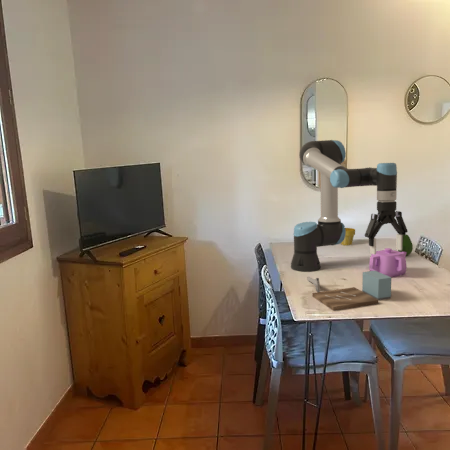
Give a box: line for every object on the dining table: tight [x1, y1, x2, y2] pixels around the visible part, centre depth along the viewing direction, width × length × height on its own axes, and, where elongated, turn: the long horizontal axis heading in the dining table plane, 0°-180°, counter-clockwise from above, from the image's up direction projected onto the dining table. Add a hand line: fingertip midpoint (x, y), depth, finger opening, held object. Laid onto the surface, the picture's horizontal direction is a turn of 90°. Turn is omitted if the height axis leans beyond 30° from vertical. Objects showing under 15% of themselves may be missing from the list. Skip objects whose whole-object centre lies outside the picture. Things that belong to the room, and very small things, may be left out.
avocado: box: [397, 233, 414, 257], centre depth 238 cm, size 8×8×12 cm
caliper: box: [306, 276, 321, 293], centre depth 195 cm, size 20×1×6 cm, turn 3°
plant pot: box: [340, 227, 356, 246], centre depth 270 cm, size 10×10×10 cm
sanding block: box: [361, 270, 392, 302], centre depth 178 cm, size 11×6×9 cm, turn 16°
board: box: [311, 286, 379, 311], centre depth 175 cm, size 17×20×2 cm
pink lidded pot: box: [368, 247, 407, 278], centre depth 207 cm, size 17×17×12 cm
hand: (386, 251), depth 178 cm, fingers open, 13 cm apart
